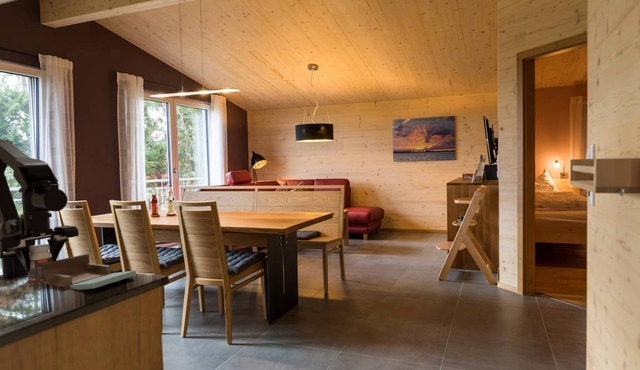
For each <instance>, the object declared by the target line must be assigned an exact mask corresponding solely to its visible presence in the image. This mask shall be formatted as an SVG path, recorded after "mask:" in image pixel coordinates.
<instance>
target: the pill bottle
mask: <svg viewBox="0 0 640 370" xmlns="http://www.w3.org/2000/svg"><path fill="white" fill-rule="evenodd" d="M49 249H50V247H49V244H48V243H43V244H42V243H41V244H35V245H34V246H30V247H29V252H30V271H29V272H27V273H28V276H27V283H29V284H36V283H37V284H38V283H43V270H42V264H43V263H48V262H52V261H53V260H52V254H51V253H49Z"/></svg>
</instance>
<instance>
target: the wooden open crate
mask: <svg viewBox="0 0 640 370" xmlns="http://www.w3.org/2000/svg"><path fill="white" fill-rule="evenodd" d="M111 267H112V266H111V265H109V264H100V263H92V262H90V254H89V253H83V254H79V255H75V256H71V257H66V258H61V259H57V260H56V261H52V262H48V263H43V264H42V270H43V282H42V283H43V285H49V286H55V287H59V288H61V287H62V288H66V289H69V288H70V286H71V285H74V284H77V283H81V282H84V281H88V280H91V279H95V278H98V277H102V276H105V275H109V274H112V268H111Z"/></svg>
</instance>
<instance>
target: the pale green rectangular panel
mask: <svg viewBox="0 0 640 370" xmlns="http://www.w3.org/2000/svg"><path fill="white" fill-rule="evenodd" d="M135 276H137V270H128V271H121V272H113V273H112V272H111V274H109V275H105V276H102V277H98V278H95V279H91V280H88V281H84V282H81V283H77V284H74V285H71V286H70V287H69V288H70V289H72V290H79V291H80V290H89V289H90V290H92V289H96V288H100V287H103V286H106V285H108V284H113V283H115V282H119V281H122V280H125V279H128V278H132V277H135Z"/></svg>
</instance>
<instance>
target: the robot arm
mask: <svg viewBox="0 0 640 370" xmlns="http://www.w3.org/2000/svg"><path fill="white" fill-rule="evenodd" d="M7 167H9V168H10V169H11V170H13V173H12V177H13V178H14V179H15V181H16V182H17V183H18V185H19V186H20V188H19V189H18V193H20V194H21V206H22V214H20V215H19V212H18V210H17V209H18V208H17V207H16V203H15V201H14V198H13V194H12V192H11V189H10V187H9V183H8V179H7V177H6V175H5V174H6V173H5V172H6V170H7ZM59 187H60V184H59V180H58V178H57V177H56V176H55V174H54V172H53V170H52V168H51V167H50V165H49V164H48V163H47V162H46V161H44V160H41V159H37V158H32V157H30V156H29V155H28V154H26V153H24V152H23V151H22V150H21V149H19V148H18V147H17V146H16V145H15V144H13V141H12V140H9V139H7V138H6V139H5V138H3V139H2V138H1V139H0V260H1V271H2V274H1V275H0V279H1V280H7V281H11V280H17V279H20V278H23V277H28V273H27V272H29V271H30V252H29V247H30V246H34V245H36V241H39V240H45V239H46V241H47V244H49V247H50V249H49V253H51V254H52V260H53V261H56V260H58V257H59V255H60V253H61V251H62V249H63V247H64V245H65V244H66V243H67V242H69V239H70V238H71V239H72V238H76V237H80V233H79V232H80V231H79V228H78V227H77V226H76V225H62V226H55V227H54V228H51V220H50V218H52V217H53V216H52V215H53V213H52V212H60V211H62V210H64V209H65V207H66V206H67V204H68V200H69V199H68V195H67V194H66V192H64V191H63V190H62V189H59Z"/></svg>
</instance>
